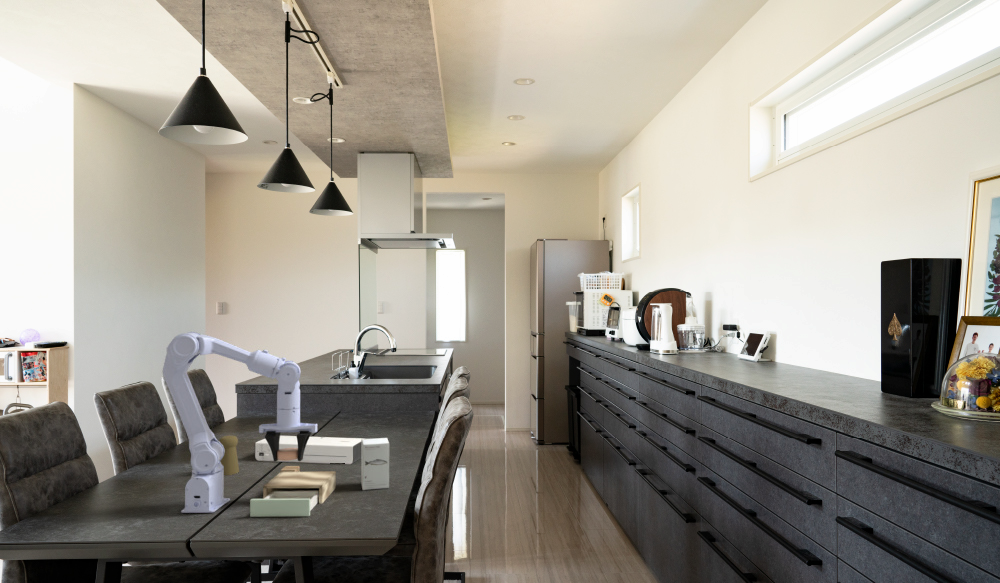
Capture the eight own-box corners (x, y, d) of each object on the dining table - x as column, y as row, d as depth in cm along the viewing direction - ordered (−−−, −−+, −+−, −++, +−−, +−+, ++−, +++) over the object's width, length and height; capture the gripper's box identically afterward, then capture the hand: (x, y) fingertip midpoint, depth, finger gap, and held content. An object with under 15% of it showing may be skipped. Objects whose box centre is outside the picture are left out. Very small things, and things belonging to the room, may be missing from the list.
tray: (309, 516, 143) (309, 499, 143) (250, 516, 143) (250, 500, 143) (324, 498, 156) (324, 483, 156) (270, 498, 156) (270, 483, 156)
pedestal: (294, 484, 169) (294, 469, 170) (280, 484, 169) (280, 469, 169) (299, 479, 173) (299, 466, 173) (285, 480, 173) (285, 466, 173)
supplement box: (362, 490, 163) (362, 444, 163) (360, 483, 170) (361, 438, 171) (389, 488, 165) (389, 442, 165) (387, 481, 172) (387, 436, 172)
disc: (296, 460, 154) (296, 452, 155) (274, 460, 154) (274, 452, 154) (302, 455, 160) (302, 447, 160) (280, 455, 160) (280, 447, 160)
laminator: (366, 456, 201) (366, 438, 201) (352, 466, 189) (352, 446, 189) (272, 453, 206) (272, 435, 207) (252, 462, 194) (252, 443, 194)
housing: (322, 503, 153) (322, 485, 153) (263, 503, 153) (263, 485, 153) (335, 488, 166) (335, 471, 166) (281, 488, 165) (281, 471, 165)
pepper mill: (230, 476, 178) (231, 438, 178) (212, 474, 179) (213, 437, 179) (243, 470, 183) (243, 434, 184) (225, 469, 185) (226, 433, 185)
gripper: (320, 405, 161) (320, 455, 161) (266, 405, 161) (265, 456, 161) (313, 409, 154) (313, 462, 154) (256, 410, 154) (255, 463, 153)
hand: (288, 460), depth 157 cm, fingers closed on disc, 6 cm apart
